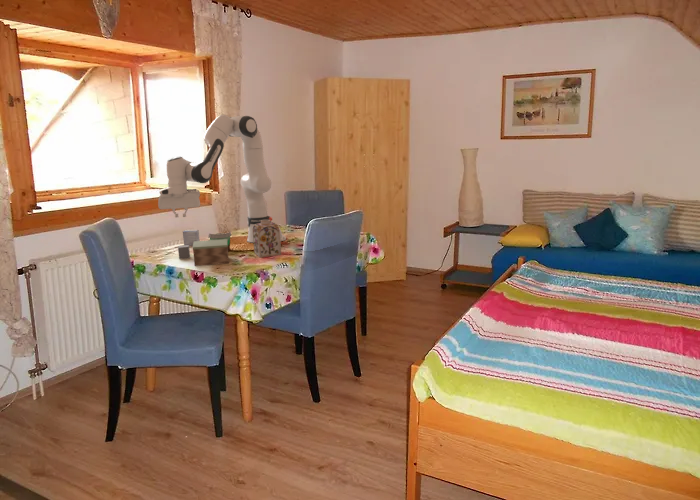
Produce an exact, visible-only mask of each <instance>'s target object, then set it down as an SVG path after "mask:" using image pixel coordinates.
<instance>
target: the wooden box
mask: <svg viewBox="0 0 700 500" xmlns="http://www.w3.org/2000/svg"><path fill="white" fill-rule="evenodd" d="M192 252H193V264H194V267H197V266H196V265H199V266H206V265H207V266H208V265H209V266H210V265H222V264H229V251H228V247H220V248H207V249H193V248H192Z"/></svg>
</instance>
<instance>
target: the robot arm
mask: <svg viewBox="0 0 700 500" xmlns="http://www.w3.org/2000/svg"><path fill="white" fill-rule="evenodd" d="M229 137H233V138H234V137H236V138H241V141H242V152H243V153H242V154H243V164H244V165H245V167H246V170H247V173H245V174H243V175H242V176H241V178H240V186H241V187H242V190H243V194H244V197H245V200H246V206H247V219H246V221H247V226H248V232H247V233H248V234H247V240H246V242H247V243H253V227H254V225H255V224H257V223H261V220H270V222H272V221H273V217H272V216H269V215H268V208H267V207H268V204H267V201H266V199H265V195H264V193H267V192H269V191H270V189H271V188H272V181H271V180H272V179H271V178H270V177H269V175H268V171H267V168H266V164H265V159H264V158H265V157H264V147H263V140H262V135H261V132H260V130H259V129H258V124H257V121H256V119H255V118H254V117H252V116H250V115H245V116H244V115H237V116H229V115H226V114H220V115H218V116H217V117H216V118H215V119H213V120H212V122H211V123H210V125H209V126H208V128H207V129H206V131H205V132H204V135H203V141H204V143H205V145H206V146H208V151H207V153H206V154H205V155H204V158H203V160H201V161H200V162H192V161H189V160H186V159H185V158H184V157H183V156H174V157H173V156H172V157H170V158H168V159H167V161H166V175H167V178H168V183H167V187H164V188H162V189H160V190H159V194H160V195H159V197H158V198H157V199H158V202H157V206H158V209H160V210H170V209H171V211H172V213H173V214H174V217H175V218H179V213H177V212H176V209H183V210H184V212H183V213H182V217H183V218H186V217H187V213H188V209H191V208H199V207H200V206H201V201H200V197H201V194H200V193H201V191H200V190H198V189H197V188H188V185H187V182H193V183H198V184H206V183H209V181H210V180H211V179H212V176H213V172H214V168H215V167H216V164H217V162H218V161H219V159H220V156H221V155H222V153H223V150H224V147H225V143H226V141H227V140H228V139H229ZM279 230H280V242H283V241H286V240H287V236H285V235H283V232H282V229H281V228H280V227H279Z"/></svg>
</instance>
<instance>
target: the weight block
mask: <svg viewBox="0 0 700 500" xmlns="http://www.w3.org/2000/svg"><path fill="white" fill-rule="evenodd" d="M177 250H178V258H179V260H184V259H185V260H186V259H190V258H191V253H190V246H189V245H184V244H183V245H178V247H177Z"/></svg>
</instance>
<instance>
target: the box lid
mask: <svg viewBox="0 0 700 500" xmlns="http://www.w3.org/2000/svg"><path fill="white" fill-rule="evenodd" d="M220 247H228V244H227V239H222V240H210V239H209V240H200V241H194V243H193V246H191V248H192V250H193V249H207V248H220Z"/></svg>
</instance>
